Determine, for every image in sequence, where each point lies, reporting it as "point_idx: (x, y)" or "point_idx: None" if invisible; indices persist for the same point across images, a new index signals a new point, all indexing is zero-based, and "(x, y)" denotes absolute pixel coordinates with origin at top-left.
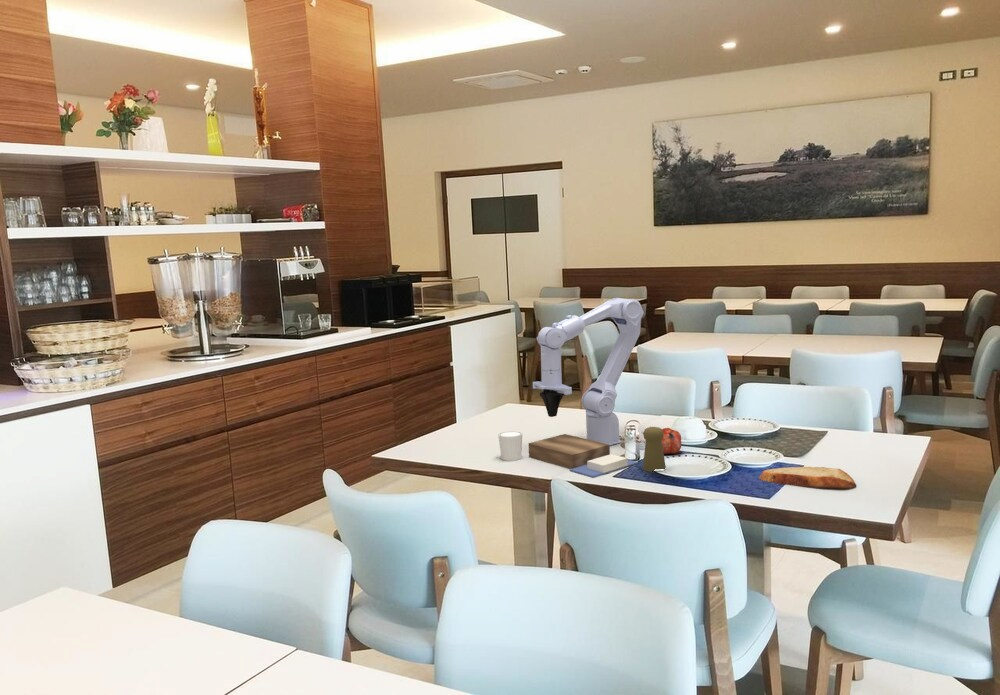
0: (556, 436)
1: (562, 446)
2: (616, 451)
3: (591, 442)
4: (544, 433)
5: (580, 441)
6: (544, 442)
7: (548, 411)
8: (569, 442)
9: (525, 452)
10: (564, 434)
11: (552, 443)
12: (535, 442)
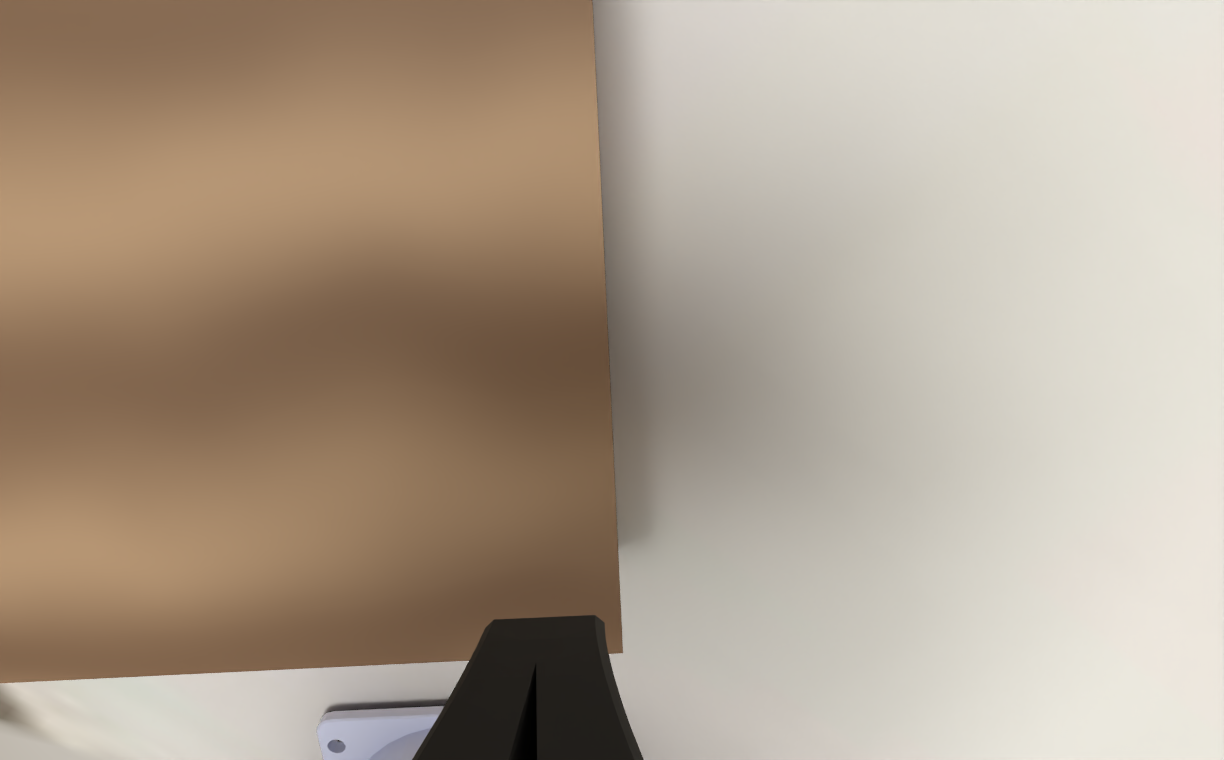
0: (598, 513)
1: (41, 227)
2: (157, 752)
3: (25, 617)
4: (1182, 710)
5: (157, 562)
6: (440, 184)
7: (544, 694)
8: (198, 439)
9: (808, 89)
10: None
11: (303, 234)
12: (546, 75)
